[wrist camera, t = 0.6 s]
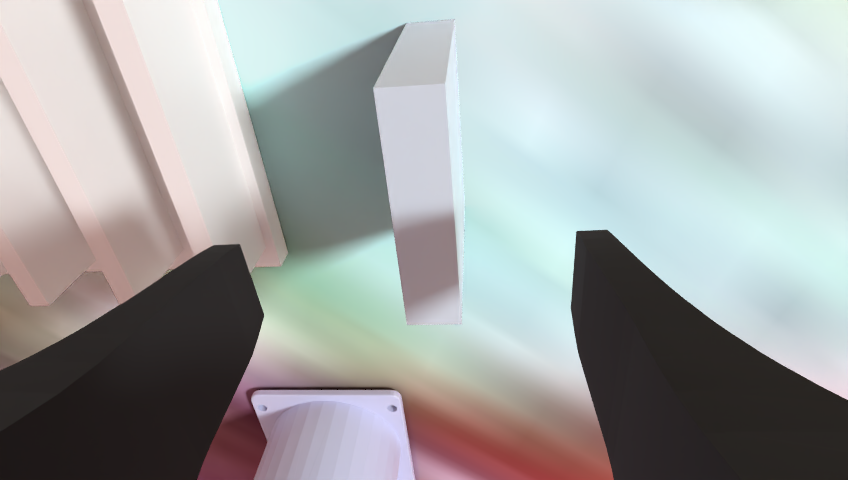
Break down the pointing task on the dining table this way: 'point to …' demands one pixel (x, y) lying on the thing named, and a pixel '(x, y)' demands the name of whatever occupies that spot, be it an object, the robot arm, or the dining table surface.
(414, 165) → the plate tile
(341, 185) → the dining table surface
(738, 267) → the dining table surface
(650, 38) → the dining table surface
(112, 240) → the dish rack
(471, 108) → the dining table surface
